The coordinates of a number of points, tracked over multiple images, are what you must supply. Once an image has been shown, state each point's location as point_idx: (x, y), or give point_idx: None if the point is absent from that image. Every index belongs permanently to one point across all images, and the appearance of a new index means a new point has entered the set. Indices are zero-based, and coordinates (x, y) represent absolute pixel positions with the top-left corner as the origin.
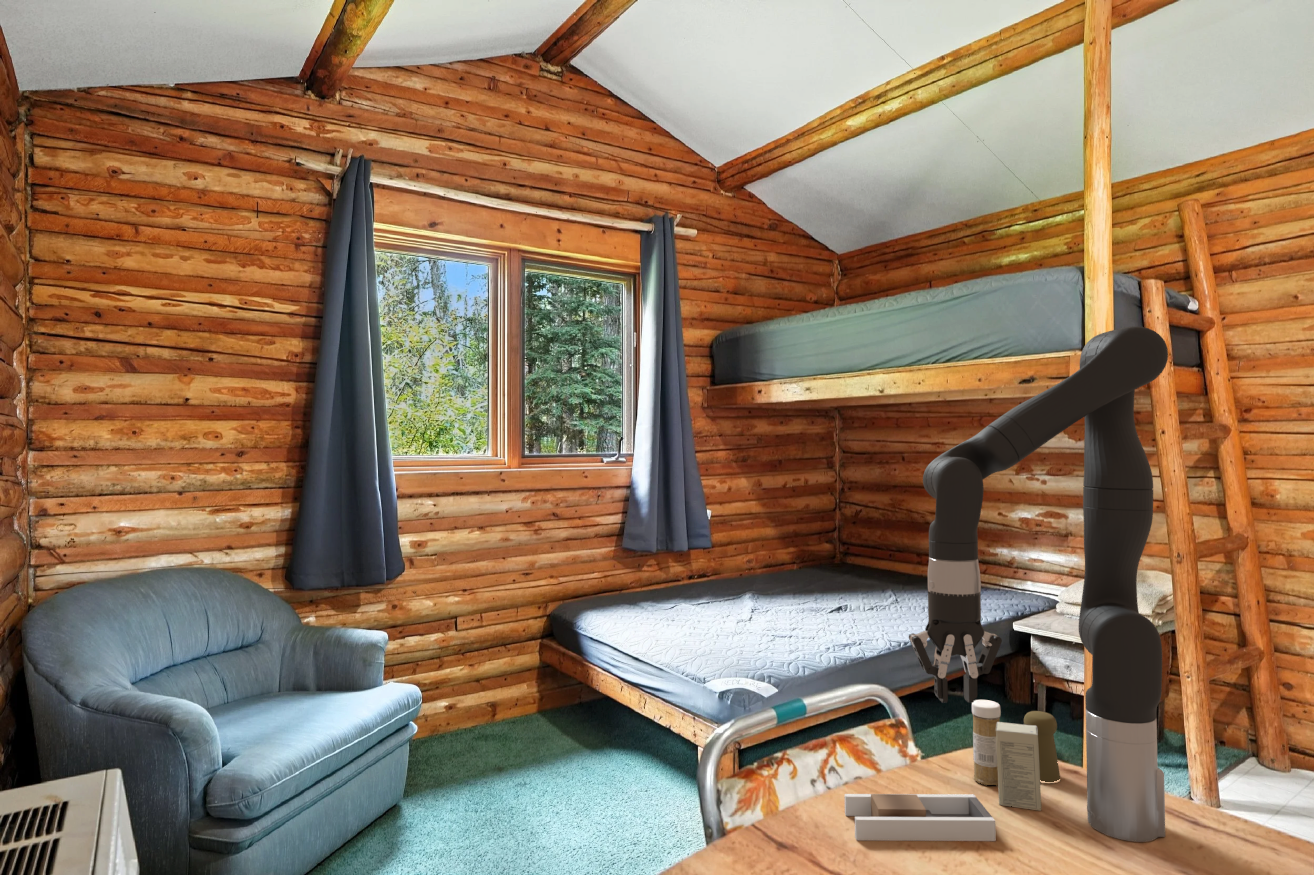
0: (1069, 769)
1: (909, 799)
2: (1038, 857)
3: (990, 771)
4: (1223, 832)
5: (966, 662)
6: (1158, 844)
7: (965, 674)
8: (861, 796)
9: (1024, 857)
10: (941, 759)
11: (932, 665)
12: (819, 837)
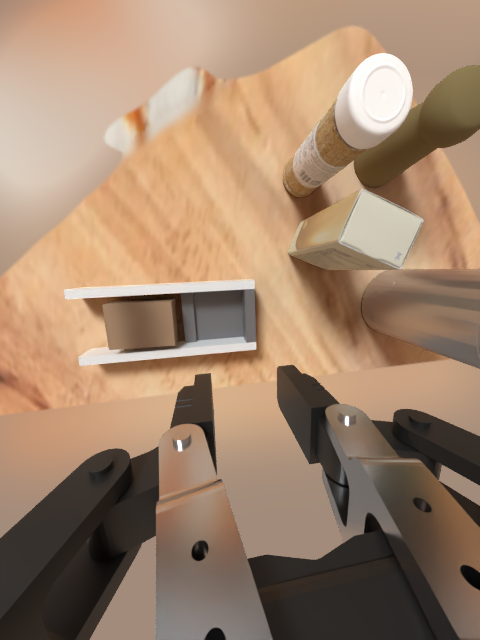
0: None
1: (158, 318)
2: None
3: (306, 189)
4: None
5: (345, 532)
6: None
7: (319, 406)
8: (90, 296)
9: (268, 370)
10: (258, 82)
11: (139, 519)
12: (45, 353)
